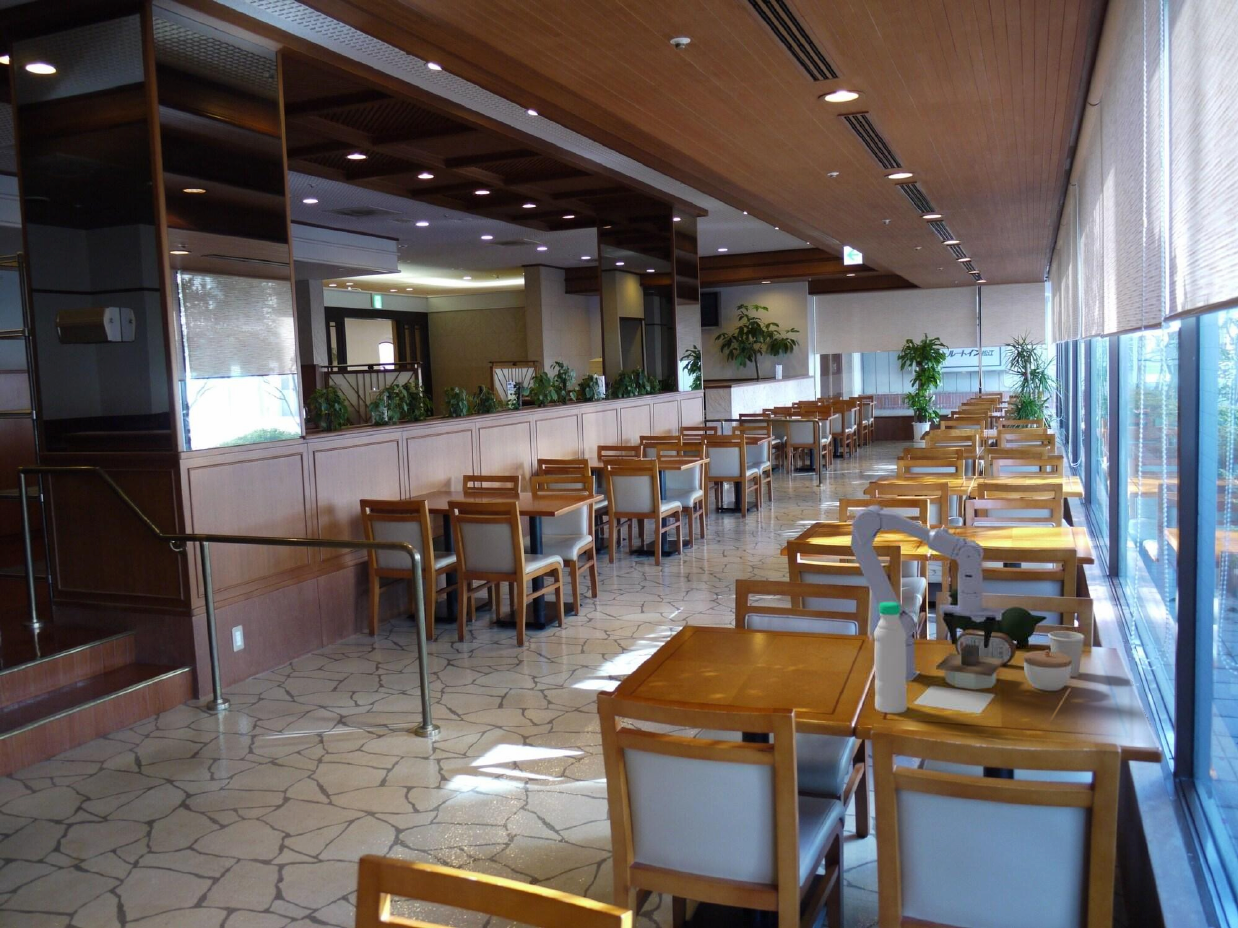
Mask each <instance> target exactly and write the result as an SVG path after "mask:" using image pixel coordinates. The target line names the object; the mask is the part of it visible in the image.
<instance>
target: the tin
mask: <svg viewBox="0 0 1238 928" xmlns="http://www.w3.org/2000/svg"><path fill="white" fill-rule="evenodd" d="M966 644H972V645H979V657H987V658H995V659H1004V662H1003V664H1002V665H1001V666H1005V665H1008V664H1009V663H1010V662H1011V661H1012V660H1013V659H1014V657H1015V655H1016V652H1017V649H1016V644H1015V641H1012V639H1011V638H1010V637H1008V636H1007V635H1005V634H1002V633H996V632H992V634H991V637H990V642H989V647H988V648H984V631H978V630H966V631H963V630H962V632H961V633H959V634H958V635H957V643H956V644H954V645H955V651H956V654H961V649H962V648H963V647H964V646H965V645H966Z"/></svg>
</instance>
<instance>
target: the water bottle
mask: <svg viewBox="0 0 1238 928" xmlns="http://www.w3.org/2000/svg"><path fill="white" fill-rule="evenodd" d="M878 613H879V615H880V619H879V621H878V622H877V626H876V627H875V630H874V632H873V638H874V653H873V654H874V656H873V657H874V658H873V659H874V675H875V676H876V677H875V676H874V677H875V681H874V692H875V697H874V707H875V709H876V711H879V712H882V713H885V714H901V713H904V712H906V711H907V708H908V707H907V706H908V702H907V681H906V680H905V678H906V646H905V639H906V633H905V631H904V629H903V627H902V624H901V622H900V621H899V619H898V616H899V615H900V614H899V613H900V605H899V604H898V603H896V602H882V603H880V604H879V606H878Z"/></svg>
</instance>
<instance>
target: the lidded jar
mask: <svg viewBox="0 0 1238 928" xmlns="http://www.w3.org/2000/svg"><path fill="white" fill-rule="evenodd" d="M1022 658H1023V670H1024V674H1025V678H1026V680H1027V681H1028V682H1029V684H1031V685H1032V687H1034V688H1035V689H1037V690H1042V691H1047V692H1054V691H1055V692H1056V691H1060V690H1061V689H1063V688H1064V687H1066V685H1067V684H1068V683H1069V681H1070V678H1071V677H1070V674H1071V663H1072V659H1071V657H1069V656H1068V655H1065V654H1062V653H1057V652H1051V649H1045V650H1036V651H1029V652H1026V653H1024V654H1023V656H1022Z"/></svg>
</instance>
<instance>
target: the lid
mask: <svg viewBox="0 0 1238 928" xmlns="http://www.w3.org/2000/svg"><path fill="white" fill-rule="evenodd" d="M1003 662H1004V659H995V658H987V657H979V645H972V644H966V645H965V646H964V647H963V648H962V649H961V654H958V653H952V652H950V653H949V654H948V655H946V657H944V659H942V660H941V661H940V662H939V663H938V664H937V665H936V666H935V669H936V670H940V671H945V670H946V671H954V672H962V673H970V674H977V675H985V676H992V675H993V674H994V673H995V672H996V673H997V670H998V669H999V668H1000V667H1002V666H1003V665H1002V664H1003Z"/></svg>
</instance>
